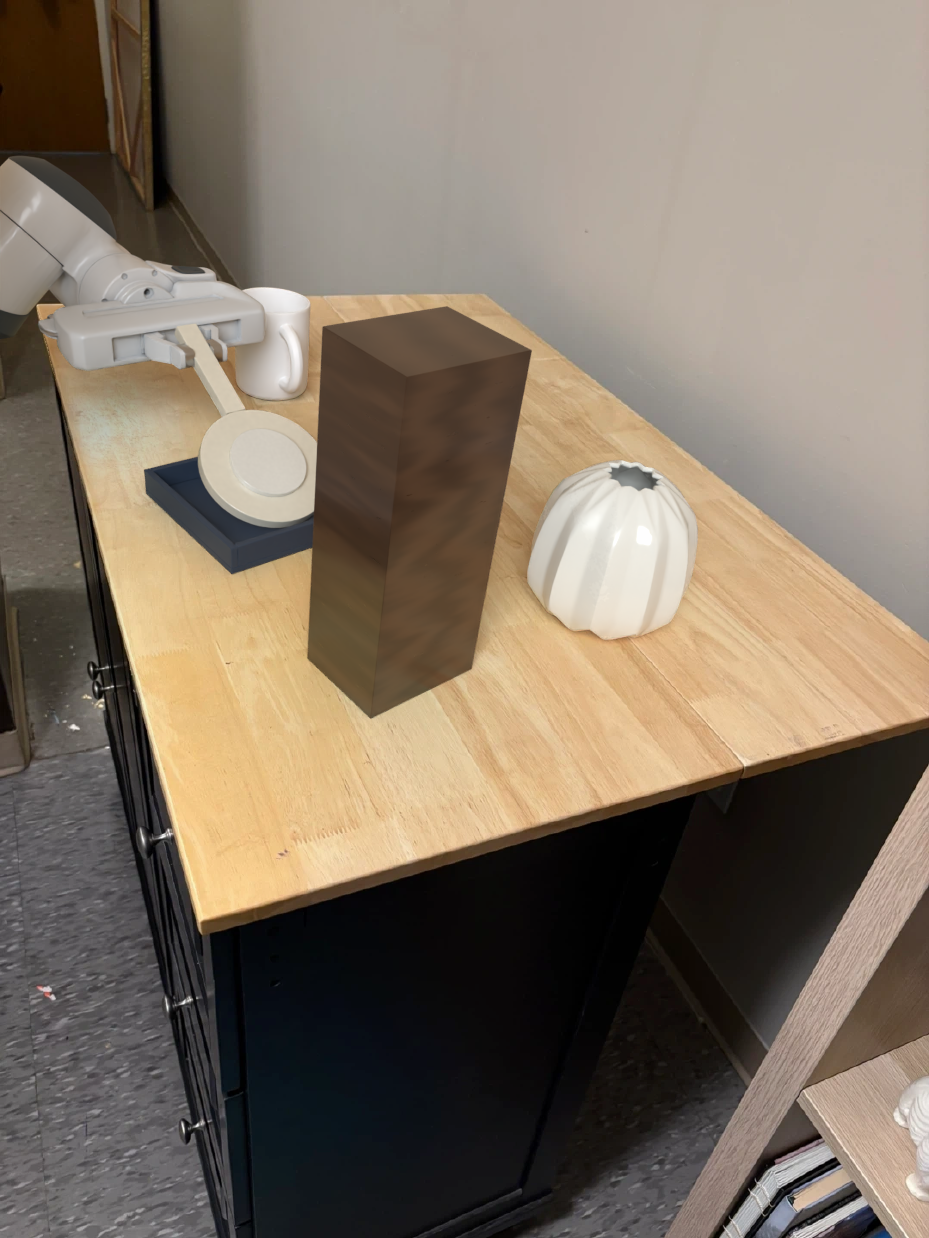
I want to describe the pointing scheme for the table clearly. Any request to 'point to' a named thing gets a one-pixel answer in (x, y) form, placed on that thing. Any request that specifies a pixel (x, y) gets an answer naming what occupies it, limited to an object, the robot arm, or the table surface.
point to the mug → (277, 348)
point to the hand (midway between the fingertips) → (204, 357)
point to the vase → (614, 550)
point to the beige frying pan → (251, 451)
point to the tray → (220, 520)
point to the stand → (408, 498)
